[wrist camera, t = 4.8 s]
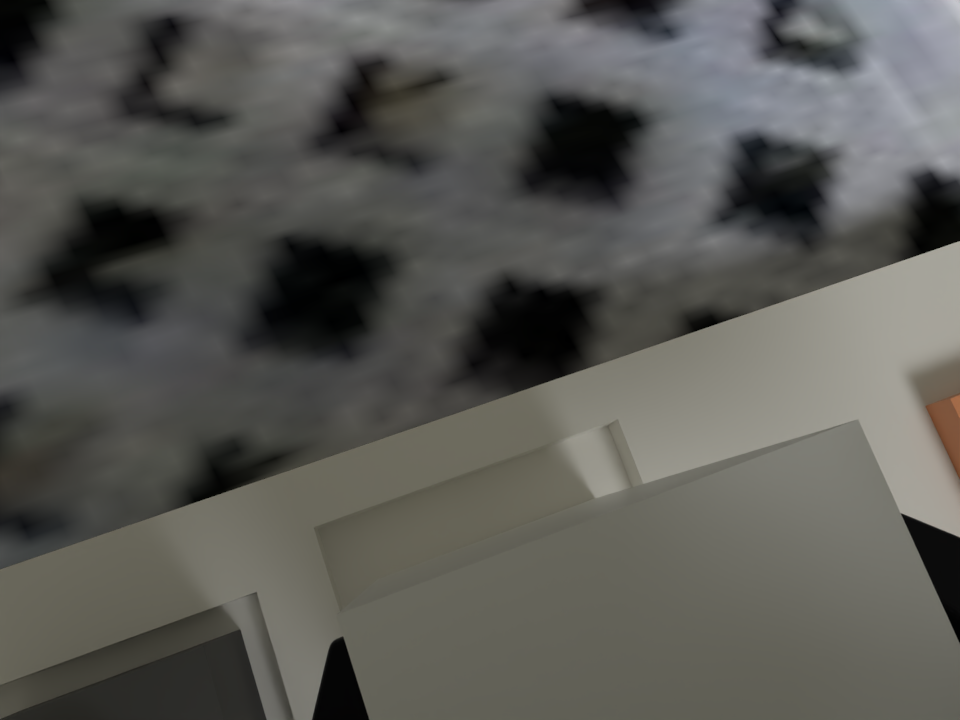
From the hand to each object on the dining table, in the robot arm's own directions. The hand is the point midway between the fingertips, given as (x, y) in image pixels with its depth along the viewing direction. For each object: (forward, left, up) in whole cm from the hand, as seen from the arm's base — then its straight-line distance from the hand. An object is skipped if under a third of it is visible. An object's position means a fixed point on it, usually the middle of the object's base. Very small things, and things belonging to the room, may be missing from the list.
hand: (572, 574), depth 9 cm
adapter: (-1, +1, -7) cm, 7 cm away
